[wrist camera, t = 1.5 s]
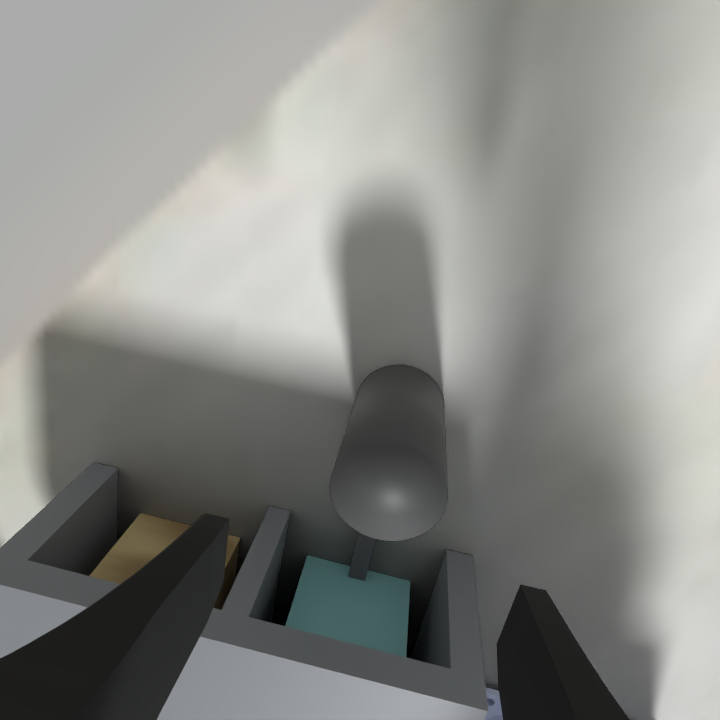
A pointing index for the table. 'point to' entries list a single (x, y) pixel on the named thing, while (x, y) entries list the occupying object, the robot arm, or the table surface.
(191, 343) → the table surface
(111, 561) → the ochre block
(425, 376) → the block
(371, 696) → the cubby shelf
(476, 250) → the table surface
